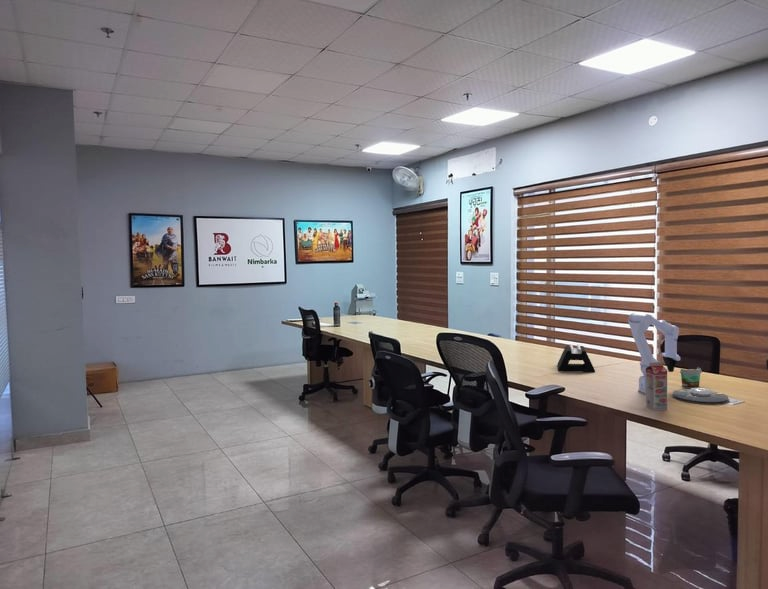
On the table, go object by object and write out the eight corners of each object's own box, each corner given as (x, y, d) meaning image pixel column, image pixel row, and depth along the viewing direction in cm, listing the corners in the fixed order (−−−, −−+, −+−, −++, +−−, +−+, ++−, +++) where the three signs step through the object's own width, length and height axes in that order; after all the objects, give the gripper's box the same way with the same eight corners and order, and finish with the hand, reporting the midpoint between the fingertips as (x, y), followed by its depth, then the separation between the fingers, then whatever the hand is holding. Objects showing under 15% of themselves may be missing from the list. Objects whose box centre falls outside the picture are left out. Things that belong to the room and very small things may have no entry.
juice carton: (645, 406, 254) (645, 361, 253) (658, 406, 255) (658, 361, 253) (653, 410, 247) (653, 363, 246) (667, 409, 248) (667, 363, 247)
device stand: (558, 371, 344) (558, 348, 344) (557, 365, 366) (557, 343, 365) (595, 372, 338) (594, 349, 337) (592, 366, 359) (591, 344, 359)
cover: (698, 397, 262) (698, 392, 262) (686, 393, 271) (686, 388, 271) (715, 396, 263) (715, 391, 262) (702, 392, 272) (702, 387, 271)
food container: (689, 389, 287) (689, 370, 286) (679, 386, 293) (679, 368, 292) (707, 387, 290) (707, 369, 290) (697, 384, 296) (697, 367, 296)
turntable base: (691, 405, 254) (691, 404, 254) (661, 393, 279) (661, 392, 279) (741, 403, 255) (741, 402, 255) (707, 391, 280) (707, 390, 280)
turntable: (691, 403, 255) (691, 400, 255) (663, 392, 279) (663, 389, 279) (739, 401, 256) (739, 399, 255) (707, 390, 279) (707, 388, 279)
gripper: (686, 348, 281) (686, 373, 281) (670, 344, 295) (670, 368, 296) (673, 349, 281) (673, 374, 281) (657, 345, 295) (657, 369, 296)
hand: (670, 371), depth 289 cm, fingers closed
